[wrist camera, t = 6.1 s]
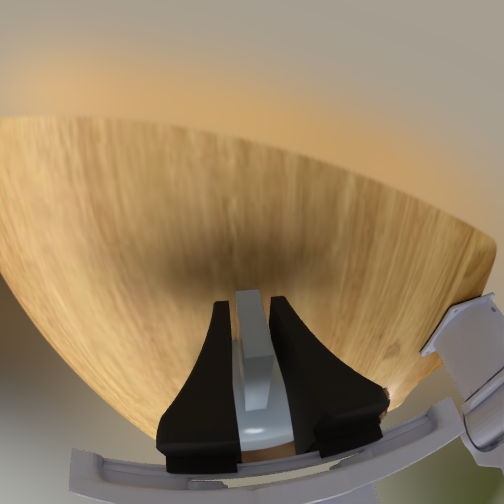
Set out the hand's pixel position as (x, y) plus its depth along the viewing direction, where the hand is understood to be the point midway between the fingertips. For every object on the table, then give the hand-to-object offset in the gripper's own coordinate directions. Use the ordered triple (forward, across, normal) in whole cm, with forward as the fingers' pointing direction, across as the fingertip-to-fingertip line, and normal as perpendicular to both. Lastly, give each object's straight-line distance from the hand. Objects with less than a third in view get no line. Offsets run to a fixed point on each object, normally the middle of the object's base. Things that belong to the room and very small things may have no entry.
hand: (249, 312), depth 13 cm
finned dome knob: (+3, 0, +6) cm, 6 cm away
